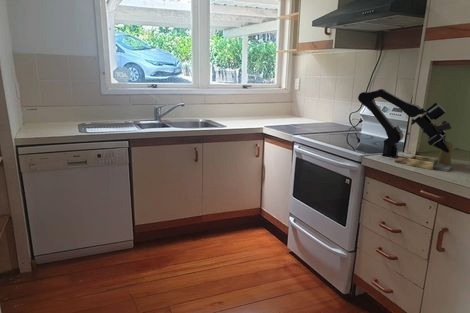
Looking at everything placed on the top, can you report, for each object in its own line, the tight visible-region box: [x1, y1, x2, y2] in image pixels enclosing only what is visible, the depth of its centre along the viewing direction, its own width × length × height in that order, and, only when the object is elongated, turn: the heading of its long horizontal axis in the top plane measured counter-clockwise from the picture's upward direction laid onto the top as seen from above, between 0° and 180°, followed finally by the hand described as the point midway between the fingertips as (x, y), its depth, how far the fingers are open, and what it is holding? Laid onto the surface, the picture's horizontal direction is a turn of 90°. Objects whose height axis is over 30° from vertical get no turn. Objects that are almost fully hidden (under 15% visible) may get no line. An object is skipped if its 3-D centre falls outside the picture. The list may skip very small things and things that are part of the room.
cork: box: [437, 141, 454, 166], centre depth 167 cm, size 6×6×11 cm
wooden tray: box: [394, 155, 452, 172], centre depth 165 cm, size 23×11×3 cm, turn 49°
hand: (449, 151), depth 166 cm, fingers closed on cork, 5 cm apart
